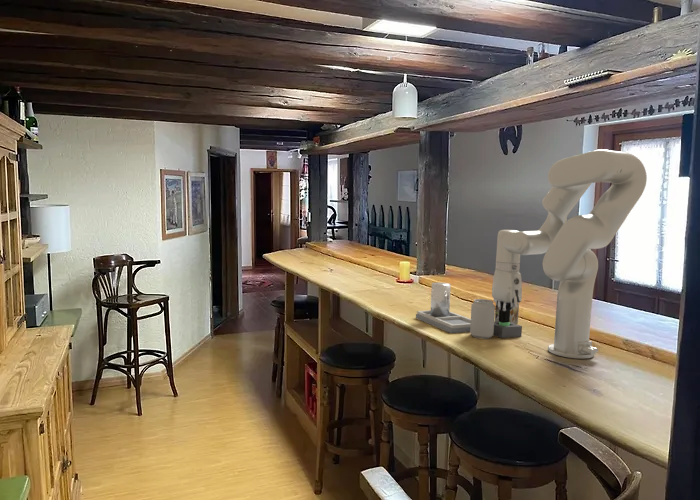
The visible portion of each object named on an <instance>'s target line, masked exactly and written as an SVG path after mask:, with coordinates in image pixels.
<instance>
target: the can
mask: <svg viewBox="0 0 700 500" xmlns="http://www.w3.org/2000/svg"><path fill="white" fill-rule="evenodd" d="M470 305H471V308H470V311H471V312H470V319H471V324H470V332H469V334H470V335H471V337H473V338H475V339H480V338H482V339H483V340H484V339H485V340H486V339H488V340H489V339H491V338H492V337H493V336H494V335H493V333H494V322H495V307H496V304H494V300H492V299H485V298H479V299H478V298H475V299H473V302H472V304H470Z"/></svg>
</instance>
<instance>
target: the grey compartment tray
mask: <svg viewBox="0 0 700 500" xmlns="http://www.w3.org/2000/svg"><path fill="white" fill-rule="evenodd" d="M430 312H431V309H430V310H418V311H416V314H415V319H417V320H419V321H421V322H423V323H424V322H425V323H426V324H429V325H431V326H433V327H436V328H438V329H440V330H443V331H445V332H448V333H449V334H458V333H470V324H471V318H469V317H466V316H463V315H461V314H458V313H456V312H453V311H450V310H449V317H433V316H431V315H430Z"/></svg>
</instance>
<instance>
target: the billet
mask: <svg viewBox="0 0 700 500" xmlns="http://www.w3.org/2000/svg"><path fill="white" fill-rule="evenodd" d="M451 287H452V284H451V283H448V282H441V281H439V282H432V283H431V293H430V295H431V296H430V297H431V298H430V310H431V312H430V315H431V316H433V317H449V311H450V310H451V309H450V308H451V307H450V305H451V290H452V289H451Z"/></svg>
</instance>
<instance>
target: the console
mask: <svg viewBox="0 0 700 500" xmlns="http://www.w3.org/2000/svg"><path fill="white" fill-rule="evenodd" d="M522 330H523V326H522V325H519V324H518V323H517V324H514V323H511V322H510V326H502V325H499V321H495V320H494V333H493V336H495V337H497V336H498V337H497V338H500V339H507V338H509V337H511V338H519V337H520V336H521V337H522V333H523V332H522Z"/></svg>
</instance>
